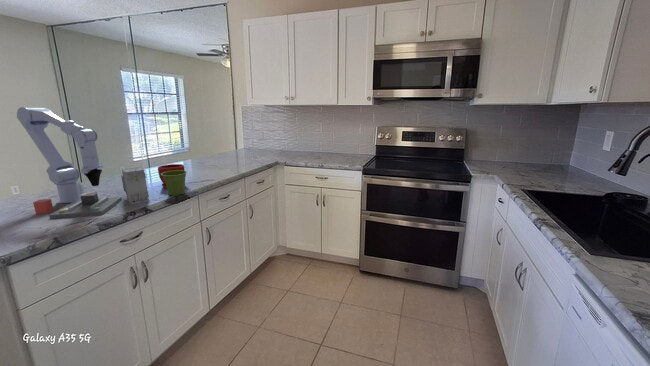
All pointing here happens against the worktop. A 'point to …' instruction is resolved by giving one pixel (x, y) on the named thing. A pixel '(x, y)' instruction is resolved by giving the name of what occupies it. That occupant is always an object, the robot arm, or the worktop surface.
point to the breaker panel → (86, 208)
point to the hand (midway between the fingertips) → (95, 185)
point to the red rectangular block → (43, 206)
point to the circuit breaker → (135, 185)
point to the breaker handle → (89, 198)
